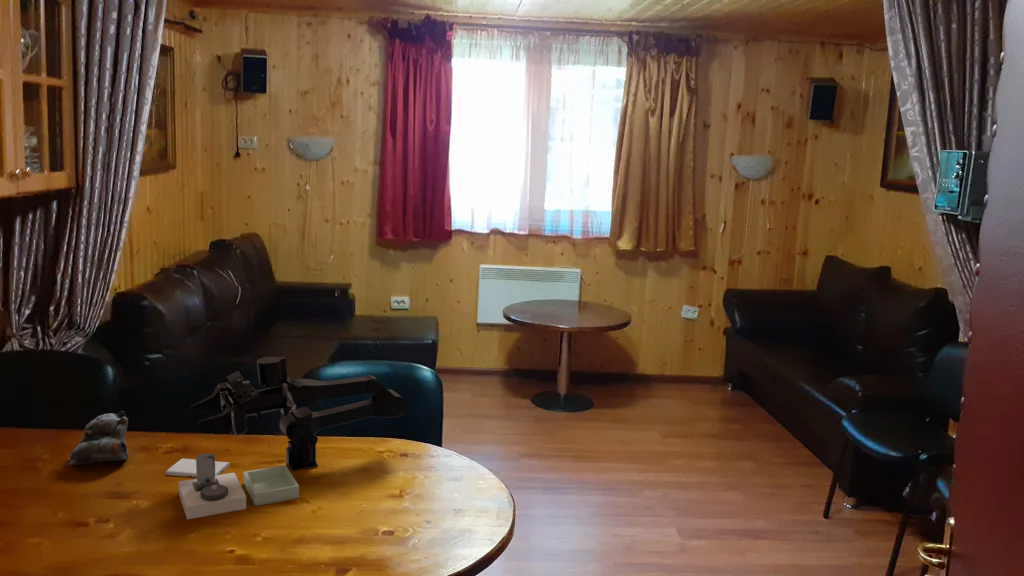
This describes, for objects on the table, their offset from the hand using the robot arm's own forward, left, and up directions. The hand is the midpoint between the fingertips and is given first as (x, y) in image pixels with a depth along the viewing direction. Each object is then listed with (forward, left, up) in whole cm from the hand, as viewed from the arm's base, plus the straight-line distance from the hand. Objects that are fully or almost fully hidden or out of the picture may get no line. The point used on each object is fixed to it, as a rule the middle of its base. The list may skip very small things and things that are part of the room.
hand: (194, 415), depth 191 cm
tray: (-15, +11, -17) cm, 25 cm away
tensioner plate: (-2, +11, -17) cm, 20 cm away
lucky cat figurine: (+20, -23, -17) cm, 35 cm away
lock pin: (-1, +9, -17) cm, 19 cm away
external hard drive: (-1, -8, -18) cm, 19 cm away
